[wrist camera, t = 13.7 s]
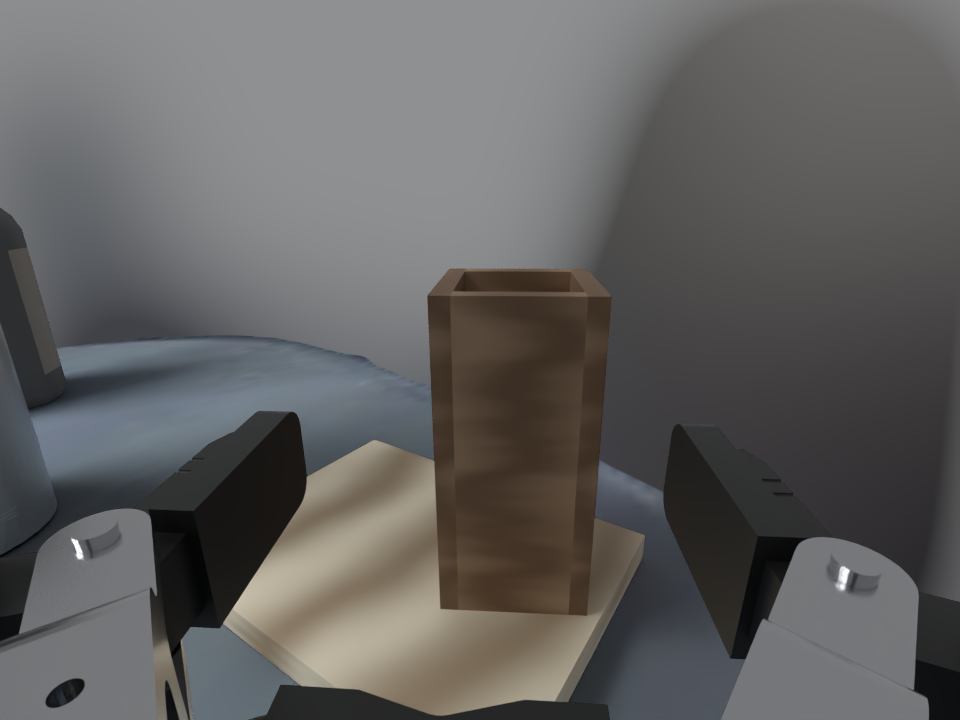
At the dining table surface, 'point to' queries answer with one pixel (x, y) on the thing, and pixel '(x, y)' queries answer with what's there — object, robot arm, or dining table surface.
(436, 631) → the board
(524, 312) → the sleeve
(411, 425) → the dining table surface
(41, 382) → the liquor
